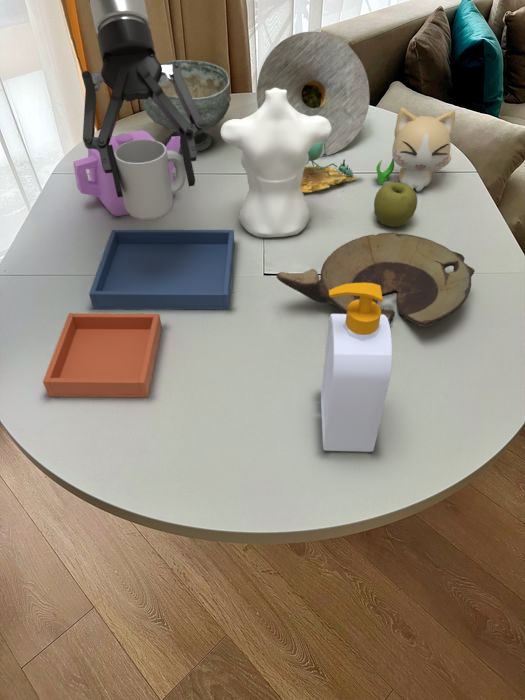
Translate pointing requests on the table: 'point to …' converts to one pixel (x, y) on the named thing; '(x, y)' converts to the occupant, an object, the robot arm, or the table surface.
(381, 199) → the apple
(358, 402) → the soap bottle
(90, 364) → the terracotta tray
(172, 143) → the teakettle
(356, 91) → the disc
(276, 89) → the torso sculpture
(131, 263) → the blue tray
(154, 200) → the cup
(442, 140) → the kitten
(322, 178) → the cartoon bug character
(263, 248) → the table surface
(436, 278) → the pottery shard
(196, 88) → the bowl
